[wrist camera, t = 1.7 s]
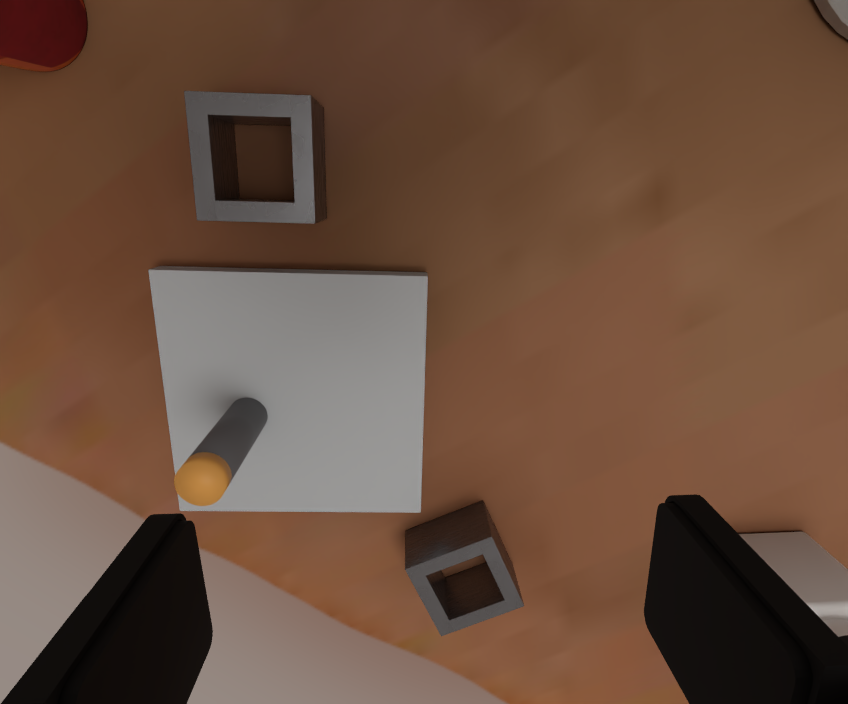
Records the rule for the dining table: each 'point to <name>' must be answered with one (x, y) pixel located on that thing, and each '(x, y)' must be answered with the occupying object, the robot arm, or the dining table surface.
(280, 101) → the link
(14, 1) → the paper cup
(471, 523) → the link
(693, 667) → the robot arm
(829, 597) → the medicine bottle
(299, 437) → the keeper
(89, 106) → the dining table surface
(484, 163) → the dining table surface
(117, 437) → the dining table surface
